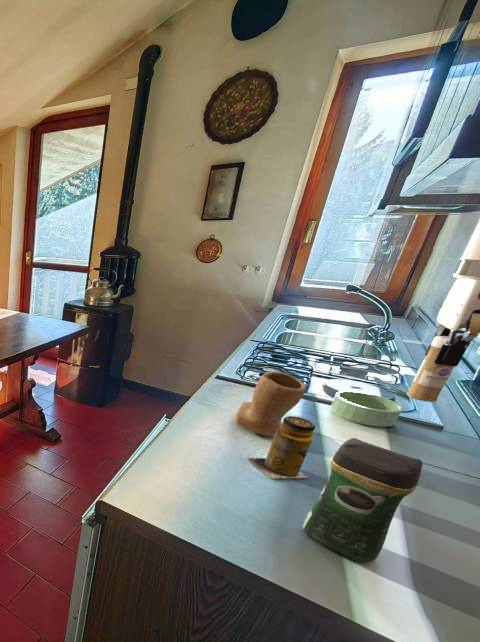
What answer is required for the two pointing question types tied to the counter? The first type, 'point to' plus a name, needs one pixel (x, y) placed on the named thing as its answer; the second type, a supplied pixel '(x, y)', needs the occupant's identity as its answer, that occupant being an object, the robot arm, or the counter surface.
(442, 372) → the sprinkles bottle
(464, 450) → the counter surface
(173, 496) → the counter surface
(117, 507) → the counter surface
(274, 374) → the brown boot planter
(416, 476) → the coffee jar
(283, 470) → the condiment
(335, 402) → the bowl
